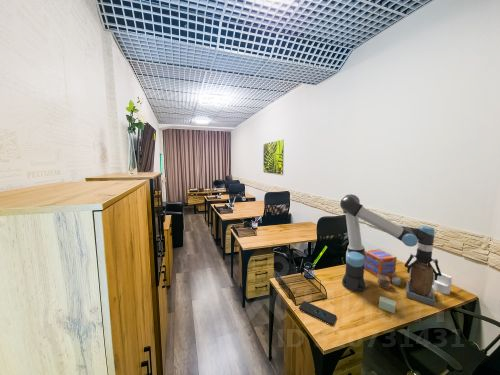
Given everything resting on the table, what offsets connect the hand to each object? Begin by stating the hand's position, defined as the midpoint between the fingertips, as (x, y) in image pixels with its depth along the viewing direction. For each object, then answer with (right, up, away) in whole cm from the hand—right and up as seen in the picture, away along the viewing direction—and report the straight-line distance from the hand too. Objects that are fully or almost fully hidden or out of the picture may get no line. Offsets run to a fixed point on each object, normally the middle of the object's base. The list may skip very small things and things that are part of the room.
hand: (420, 280), depth 133 cm
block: (0, -8, +1) cm, 8 cm away
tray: (0, -10, +1) cm, 10 cm away
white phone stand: (+19, -10, +6) cm, 23 cm away
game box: (-9, -7, +29) cm, 31 cm away
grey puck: (-7, -8, +13) cm, 17 cm away
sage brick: (-31, -12, -11) cm, 35 cm away
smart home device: (-75, -13, -15) cm, 77 cm away
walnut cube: (-17, -9, +11) cm, 23 cm away
